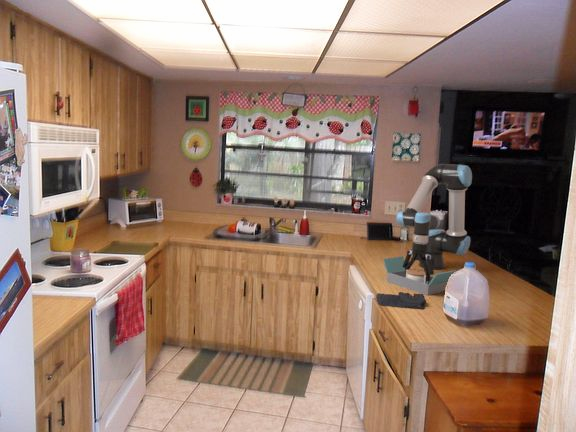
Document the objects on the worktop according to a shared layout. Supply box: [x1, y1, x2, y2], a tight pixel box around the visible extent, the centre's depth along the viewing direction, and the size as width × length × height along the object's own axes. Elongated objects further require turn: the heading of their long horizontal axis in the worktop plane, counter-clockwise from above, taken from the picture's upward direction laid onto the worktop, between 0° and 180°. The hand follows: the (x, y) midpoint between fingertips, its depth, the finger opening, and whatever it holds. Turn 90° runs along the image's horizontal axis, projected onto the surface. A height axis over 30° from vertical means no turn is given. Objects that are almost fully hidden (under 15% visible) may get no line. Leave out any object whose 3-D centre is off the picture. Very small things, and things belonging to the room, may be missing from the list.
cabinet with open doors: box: [382, 255, 457, 296], centre depth 242 cm, size 34×16×12 cm, turn 37°
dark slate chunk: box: [376, 291, 427, 311], centre depth 214 cm, size 15×22×5 cm
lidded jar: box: [407, 268, 426, 283], centre depth 242 cm, size 11×11×9 cm
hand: (416, 284), depth 243 cm, fingers closed on lidded jar, 11 cm apart
